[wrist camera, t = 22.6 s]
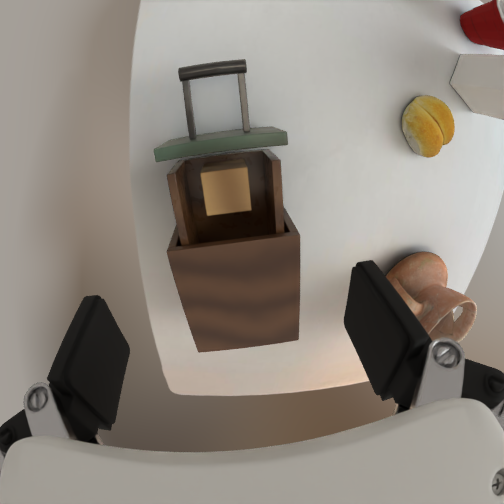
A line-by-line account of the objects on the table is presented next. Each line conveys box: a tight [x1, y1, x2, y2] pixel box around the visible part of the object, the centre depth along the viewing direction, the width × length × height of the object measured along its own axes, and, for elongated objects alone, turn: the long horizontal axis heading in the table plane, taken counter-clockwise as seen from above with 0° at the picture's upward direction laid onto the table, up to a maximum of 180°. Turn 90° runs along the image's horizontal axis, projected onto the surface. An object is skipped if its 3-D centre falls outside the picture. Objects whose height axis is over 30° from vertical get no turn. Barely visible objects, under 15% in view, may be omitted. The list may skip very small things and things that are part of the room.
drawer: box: [154, 59, 288, 246], centre depth 26 cm, size 21×11×7 cm, turn 5°
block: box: [200, 159, 252, 216], centre depth 27 cm, size 4×4×4 cm
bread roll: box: [402, 95, 455, 157], centre depth 27 cm, size 8×9×4 cm
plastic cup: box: [460, 0, 504, 50], centre depth 14 cm, size 11×11×12 cm
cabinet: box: [167, 206, 300, 352], centre depth 33 cm, size 15×13×9 cm
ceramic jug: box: [386, 252, 477, 342], centre depth 36 cm, size 18×14×14 cm
